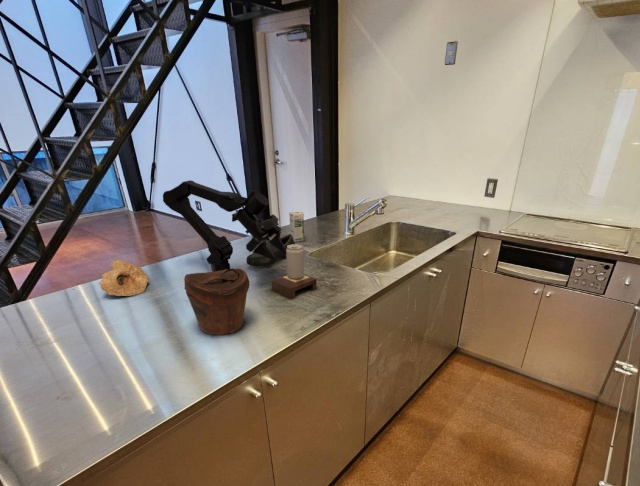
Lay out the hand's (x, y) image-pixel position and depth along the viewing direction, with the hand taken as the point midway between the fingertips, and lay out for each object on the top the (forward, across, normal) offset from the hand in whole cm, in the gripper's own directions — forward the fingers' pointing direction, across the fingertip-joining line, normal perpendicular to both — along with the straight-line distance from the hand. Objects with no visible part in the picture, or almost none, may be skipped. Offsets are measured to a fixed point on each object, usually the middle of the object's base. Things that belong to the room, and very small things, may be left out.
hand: (279, 255), depth 141 cm
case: (+6, -35, +11) cm, 37 cm away
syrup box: (-4, +58, +21) cm, 61 cm away
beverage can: (+10, 0, +1) cm, 10 cm away
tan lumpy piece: (-27, -24, +45) cm, 58 cm away
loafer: (-2, +24, +20) cm, 31 cm away
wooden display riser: (+13, -2, +4) cm, 14 cm away
